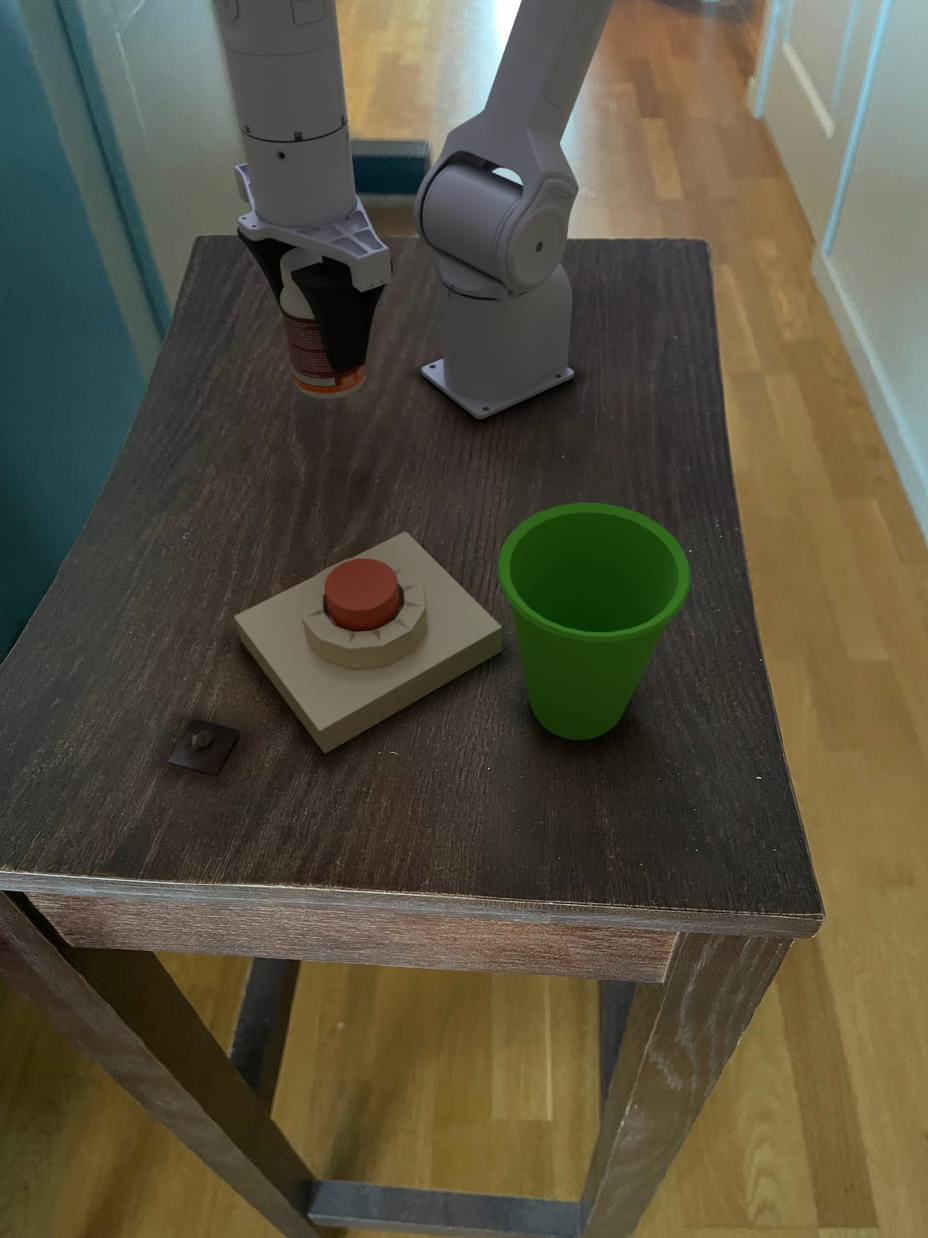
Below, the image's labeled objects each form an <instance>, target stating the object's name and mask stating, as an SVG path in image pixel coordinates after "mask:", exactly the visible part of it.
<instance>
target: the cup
mask: <svg viewBox="0 0 928 1238" xmlns="http://www.w3.org/2000/svg"><path fill="white" fill-rule="evenodd" d="M496 571H497V576H498V577H497V578H498V583H499V586H500V589H501V590H502V592H503V594H504V596H505V598H506V600H507V601H508V602H509V603H510V609H511V614H512V619H513V624H514V630H515V634H516V640H517V644H518V645H517V646H518V649H519V654H520V660H521V666H522V670H523V675H524V680H525V681H524V682H525V685H526V690H527V691H526V692H527V695H528V701H529V707H530V709H531V711H532V713H533V715H534V717H535V718H536V719H537V720H538V722H539V723H540V724H541V725H542V726H543V728H545V729H546V730H547V731H549V732H550V733H551V734H554V735H556V736H558V737H560V738H563V739H567V740H572V741H587V740H593V739H595V738H598V737H601V736H603V735H604V734H605V733H607V732H608V731H610V730H611V729H613V728H614V727H616V725H617V724H618V723H619V721H620V720H621V719H622V717H623V715H624V713H625V711H626V709H627V707H628V704H629V702H630V701H631V698H632V696H633V694H634V692H635V690H636V688H637V686H638V684H639V682H640V680H641V677H642V675H643V674H644V672H645V669H646V667H647V665H648V663H649V661H650V660H651V657H652V655H653V653H654V651H655V649H656V647H657V645H658V644H659V641H660V639H661V636H662V634H663V633H664V631H665V628H666V626H667V624H668V622H670V621H671V620H673V619H674V618H675V616H676V615H677V614H678V613H679V612H680V610H681V609H682V608H683V607H684V606H685V604H686V601H687V599H688V595H689V593H690V590H691V587H692V585H691V582H692V580H691V579H692V578H691V577H692V576H691V574H692V570H691V567H690V565H689V562H688V559H687V556H686V553H685V551H684V550H683V548H682V546H681V545H680V543H679V542H678V541H677V539H676V538H675V536H674V535H673V534H672V533H670V532H669V531H668V530H667V529H666V528H665V527H663V526H662V525H661V524H660V523H659V522H657V521H655V520H653V519H651V518H650V517H648V516H647V515H645V514H643V513H640V512H638V511H635V510H632V509H629V508H626V507H624V506H621V505H614V504H608V503H603V502H573V503H568V504H567V503H566V504H560V505H556V506H552V507H550V508H547V509H544V510H541V511H539V512H537V513H535V514H533V515H532V516H530V517H528V518H527V519H524V520H523V521H522V522H521V523H519V525H518V526H516V527H515V529H513V530H512V531H511V532H510V534H509V535H508V537H507V538H506V540H505V542H504V544H503V545H502V547H501V548H500V550H499V554H498V560H497V565H496Z"/></svg>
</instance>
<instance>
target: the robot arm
mask: <svg viewBox="0 0 928 1238" xmlns="http://www.w3.org/2000/svg"><path fill="white" fill-rule="evenodd" d="M615 1H616V0H520V3H519V7H518V9H517V11H516V16H515V18H514V21H513V24H512V27H511V30H510V33H509V36H508V39H507V41H506V45H505V47H504V49H503V53H502V55H501V58H500V61H499V64H498V67H497V70H496V73H495V76H494V79H493V81H492V85H491V87H490V91H489V93H488V96H487V98H486V99H487V100H486V102H485V105H484V107H483V109H482V110H481V111H480V112H479V113H477V114H476V115H474V116H472V117H470V118H469V119H468V120H466V121H464V122H462V123H460V124H459V125H457V126H455V127H454V128H453V129H450V131H449V132H447V134H446V138H445V141H444V144H443V147H442V149H441V152H440V154H439V156H438V158H437V159H436V161H435V163H434V164H433V165H432V167H431V168H430V169H429V170H428V172H427V173H426V174H425V176H424V177H423V180H422V181H421V183H420V185H419V187H418V190H417V194H416V196H415V202H414V209H413V220H414V226H415V230H416V233H417V235H418V237H419V239H420V240H421V241H422V242H423V243H424V244H425V245H426V246H427V247H429V248H431V249H432V264H433V266H434V267H437V269H438V270H439V293H440V294H439V296H440V316H441V317H440V319H441V322H440V323H441V347H442V358H441V359H438V360H436V361H434V362H430V363H428V364H427V365H423V366H422V367H421V368H420V370H421V372H420V373H421V375H422V376H423V377H424V378H425V379H427V380H428V381H429V382H430V383H432V384H433V385H434V386H436V387H437V388H438V389H439V390H440V391H442V392H443V393H444V394H445V395H447V396H448V397H449V398H450V399H451V400H453V401H454V402H455V403H456V404H458V405H459V406H460V407H461V408H463V409H464V410H465V411H466V412H467V413H469V414H470V415H471V416H473V417H474V418H475V419H477V420H484V419H486V418H489V417H490V416H493V415H495V414H497V413H500V412H501V411H504V410H506V409H508V408H510V407H512V406H514V405H517V404H519V403H521V402H523V401H525V400H528V399H530V398H533V397H534V396H536V395H539V394H541V393H543V392H545V391H547V390H550V389H552V388H555V387H557V386H558V385H560V384H563V383H565V382H567V381H569V380H572V379H573V378H574V377H575V371H574V370H573V368H570V367H569V366H568V363H569V352H570V351H569V350H570V340H571V339H570V336H571V325H572V313H573V293H572V288H571V287H572V286H571V283H570V280H569V277H568V275H567V272H566V270H565V268H564V266H563V265H562V264H561V263H560V262H561V260H562V258H563V255H564V253H565V250H566V246H567V242H568V235H569V225H570V219H571V218H570V217H571V213H572V209H573V206H574V204H575V201H576V199H577V196H578V194H579V191H580V187H579V184H578V180H577V179H576V178H577V177H576V176H575V174H574V172H573V170H572V168H571V166H570V163H569V161H568V159H567V156H566V155H565V153H564V150H563V148H562V145H561V142H562V140H563V137H564V134H565V131H566V129H567V126H568V123H569V121H570V118H571V115H572V113H573V110H574V107H575V105H576V103H577V100H578V97H579V95H580V92H581V90H582V87H583V84H584V81H585V79H586V76H587V74H588V71H589V68H590V66H591V63H592V61H593V58H594V56H595V52H596V50H597V47H598V45H599V42H600V40H601V37H602V34H603V32H604V29H605V27H606V24H607V21H608V19H609V16H610V13H611V11H612V8H613V6H614V3H615ZM213 3H214V4H216V8H217V13H218V19H219V24H220V29H221V34H222V40H223V46H224V51H225V56H226V62H227V66H228V72H229V76H230V83H231V88H232V93H233V98H234V104H235V110H236V115H237V119H238V124H239V129H240V130H239V131H240V134H241V139H242V145H243V150H244V156H245V161H246V162H245V163H241V164H237V165H235V166H233V170H234V175H235V180H236V184H237V190H238V195H239V198H240V199H241V200H242V201H243V202H245V203H246V204H248V205H249V208H250V212H248V213H246V214H245V213H244V214H242V215H240V216H239V217H238V218H237V225H238V226H237V228H236V232H237V236H238V238H239V239H240V240H241V241H242V243H243V244H244V245H245V246H246V247H247V249H248V250H249V252H250V253H251V255H252V256H253V258H254V259H255V261H256V262H257V264H258V265H259V267H260V269H261V271H262V272H263V274H264V276H265V278H266V280H267V282H268V284H269V286H270V289H271V290H272V293H273V295H274V297H275V300H276V302H277V304H278V308H279V309H280V312H281V313H282V309H281V304H280V296H281V292H282V290H283V288H284V285H283V282H282V274H281V267H280V260H281V258H282V257H283V255H284V254H285V253H287V252H288V251H290V250H292V249H294V248H297V247H299V248H302V249H305V250H308V251H311V252H314V253H317V254H320V255H322V262H323V263H321V262H318V263H315V264H312V265H309V266H306V267H303V268H301V269H298V270H295V271H292V272H291V279H292V280H293V281H294V282H295V284H296V285H297V286H298V288H299V289H300V291H301V292H302V293H303V295H304V297H305V299H306V300H307V302H308V304H309V306H310V308H311V310H312V312H313V315H314V317H315V320H316V322H317V325H318V328H319V332H320V335H321V339H322V343H323V347H324V350H325V354H326V357H327V359H328V362H329V364H330V366H331V368H332V370H333V371H335V372H336V373H337V374H341V373H344V372H346V371H349V370H351V369H354V368H356V367H359V366H361V365H364V363H365V364H366V360H367V354H368V347H369V342H370V335H371V330H372V325H373V321H374V316H375V312H376V309H377V306H378V303H379V300H380V298H381V296H382V294H383V292H384V289H385V287H386V285H387V284H388V283H391V282H392V281H393V276H392V275H393V273H394V267H393V259H392V258H391V251H390V247H388V246H387V245H386V244H385V243H384V242H382V240H381V239H380V238H379V237H378V235H377V234H376V232H375V229H374V226H373V224H372V223H371V220H370V218H369V216H368V214H367V211H366V209H365V208H364V205H363V203H362V201H361V199H360V197H359V195H358V194H357V193H356V184H355V183H356V181H355V174H354V164H353V156H352V146H351V134H350V126H349V118H348V109H347V98H346V89H345V79H344V70H343V69H344V68H343V60H342V51H341V43H340V33H339V24H338V14H337V13H338V12H337V4H336V0H213ZM497 169H505V170H509V171H512V172H513V173H514V174H515V175H517V176H518V177H519V179H520V181H521V183H518V181H514V180H513V179H510V178H507V177H505V176H503V175H500V174H498V173H496V172H494V171H495V170H497Z"/></svg>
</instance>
